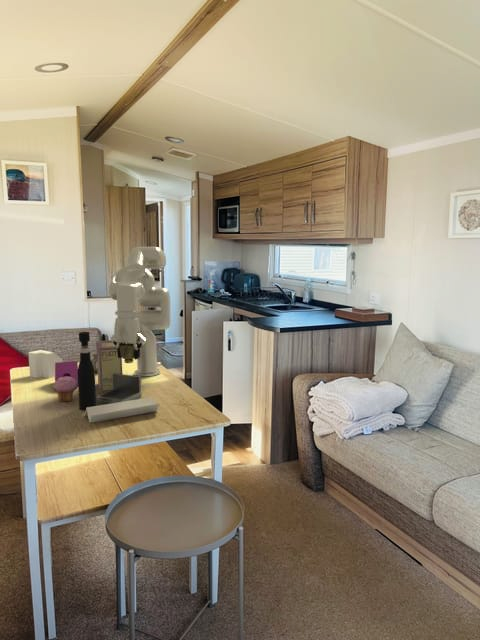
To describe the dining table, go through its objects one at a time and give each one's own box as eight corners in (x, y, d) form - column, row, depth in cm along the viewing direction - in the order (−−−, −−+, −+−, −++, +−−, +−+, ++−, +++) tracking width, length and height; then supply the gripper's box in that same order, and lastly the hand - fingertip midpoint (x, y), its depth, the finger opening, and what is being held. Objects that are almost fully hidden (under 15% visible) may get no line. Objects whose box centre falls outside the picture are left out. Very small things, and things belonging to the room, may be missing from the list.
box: (98, 384, 221) (96, 341, 218) (118, 382, 224) (116, 339, 221) (101, 394, 206) (99, 348, 203) (123, 392, 209) (121, 346, 206)
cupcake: (52, 404, 193) (51, 380, 192) (57, 397, 202) (56, 374, 200) (75, 403, 194) (74, 379, 193) (79, 396, 203) (78, 373, 201)
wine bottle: (80, 412, 184) (76, 334, 179) (78, 407, 189) (73, 332, 185) (98, 409, 187) (94, 333, 182) (94, 404, 192) (91, 330, 188)
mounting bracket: (79, 402, 215) (78, 375, 229) (78, 387, 210) (77, 361, 224) (56, 404, 212) (56, 377, 226) (54, 389, 207) (55, 362, 221)
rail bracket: (115, 393, 206) (114, 373, 205) (141, 397, 202) (140, 376, 200) (95, 402, 194) (94, 381, 193) (122, 406, 190) (121, 384, 188)
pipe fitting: (111, 371, 242) (108, 351, 241) (95, 374, 238) (92, 354, 237) (104, 368, 252) (101, 349, 251) (89, 372, 248) (86, 352, 247)
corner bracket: (30, 376, 235) (28, 352, 233) (50, 371, 244) (49, 348, 242) (43, 379, 229) (41, 355, 227) (63, 374, 238) (62, 350, 236)
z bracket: (87, 430, 177) (84, 415, 180) (152, 418, 189) (148, 404, 192) (91, 415, 168) (88, 399, 171) (159, 403, 180) (155, 389, 184)
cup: (142, 362, 197) (141, 343, 195) (127, 365, 191) (126, 346, 190) (130, 359, 202) (130, 340, 200) (115, 362, 196) (115, 343, 195)
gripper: (103, 315, 193) (105, 358, 196) (140, 317, 187) (142, 361, 190) (114, 312, 200) (116, 354, 203) (150, 314, 194) (152, 357, 197)
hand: (128, 357), depth 196 cm, fingers closed on cup, 7 cm apart
